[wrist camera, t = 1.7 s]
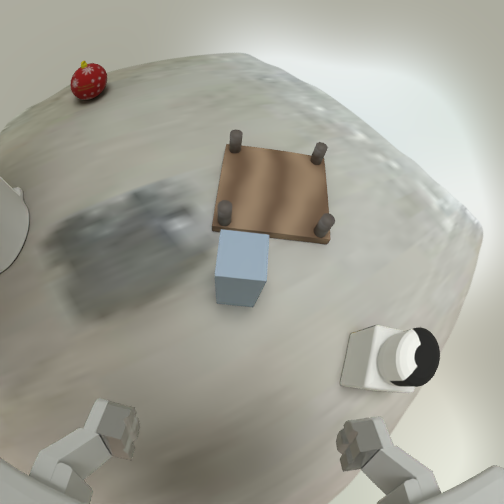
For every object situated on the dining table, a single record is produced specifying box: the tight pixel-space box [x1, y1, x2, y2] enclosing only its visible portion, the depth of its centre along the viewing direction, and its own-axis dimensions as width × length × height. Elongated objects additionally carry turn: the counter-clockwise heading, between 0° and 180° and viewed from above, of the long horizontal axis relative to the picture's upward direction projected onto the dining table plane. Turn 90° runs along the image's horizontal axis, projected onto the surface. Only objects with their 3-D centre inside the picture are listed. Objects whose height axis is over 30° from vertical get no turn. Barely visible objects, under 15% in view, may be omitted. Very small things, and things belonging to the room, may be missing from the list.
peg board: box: [212, 130, 335, 244], centre depth 39 cm, size 16×15×5 cm
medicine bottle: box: [340, 325, 440, 393], centre depth 27 cm, size 7×7×12 cm
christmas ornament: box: [71, 61, 107, 100], centre depth 44 cm, size 9×9×10 cm
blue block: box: [215, 229, 269, 307], centre depth 30 cm, size 4×4×11 cm
